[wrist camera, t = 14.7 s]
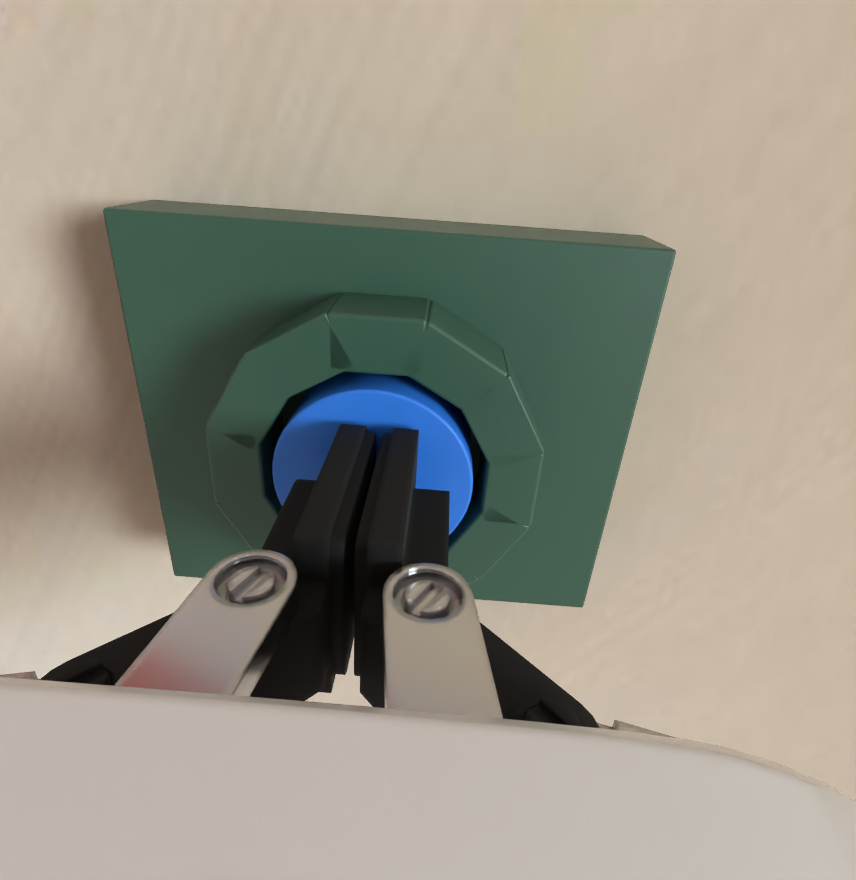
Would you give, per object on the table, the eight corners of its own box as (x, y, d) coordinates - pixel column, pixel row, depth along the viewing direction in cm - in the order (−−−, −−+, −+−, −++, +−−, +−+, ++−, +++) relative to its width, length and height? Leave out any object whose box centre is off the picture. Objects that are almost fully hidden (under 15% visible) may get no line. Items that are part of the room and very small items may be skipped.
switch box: (203, 530, 18) (143, 623, 15) (152, 199, 13) (44, 216, 10) (569, 559, 18) (597, 658, 14) (645, 235, 13) (714, 265, 10)
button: (296, 512, 15) (277, 555, 13) (287, 353, 13) (264, 381, 11) (462, 524, 15) (463, 569, 13) (480, 367, 13) (483, 398, 11)
